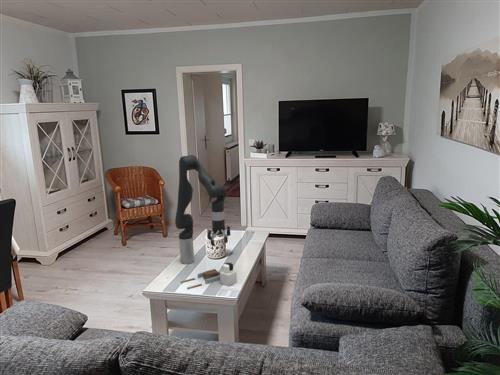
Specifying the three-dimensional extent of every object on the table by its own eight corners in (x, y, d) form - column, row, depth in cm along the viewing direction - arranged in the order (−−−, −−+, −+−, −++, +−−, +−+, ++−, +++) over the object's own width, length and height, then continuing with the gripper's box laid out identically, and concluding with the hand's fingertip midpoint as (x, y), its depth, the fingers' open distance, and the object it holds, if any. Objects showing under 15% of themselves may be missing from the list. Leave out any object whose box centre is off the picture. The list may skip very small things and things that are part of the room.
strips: (180, 282, 229) (180, 281, 229) (194, 278, 234) (194, 277, 233) (187, 289, 220) (187, 288, 219) (202, 285, 224) (201, 284, 224)
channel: (197, 277, 235) (197, 273, 235) (215, 272, 241) (215, 269, 241) (205, 284, 225) (205, 280, 225) (223, 279, 232) (223, 275, 231)
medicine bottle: (228, 279, 231) (227, 260, 229) (237, 282, 227) (236, 263, 224) (220, 283, 226) (219, 264, 224) (229, 286, 221) (228, 267, 219)
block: (203, 279, 233) (202, 272, 232) (214, 275, 237) (214, 268, 236) (206, 281, 229) (206, 274, 228) (218, 278, 234) (217, 271, 233)
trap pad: (216, 273, 240) (216, 273, 240) (221, 271, 242) (221, 271, 242) (222, 278, 233) (222, 277, 233) (228, 276, 235) (228, 276, 235)
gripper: (226, 214, 231) (227, 240, 235) (204, 218, 224) (205, 244, 228) (231, 217, 225) (232, 243, 228) (209, 221, 218) (211, 248, 221)
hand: (219, 244), depth 228 cm, fingers open, 8 cm apart
